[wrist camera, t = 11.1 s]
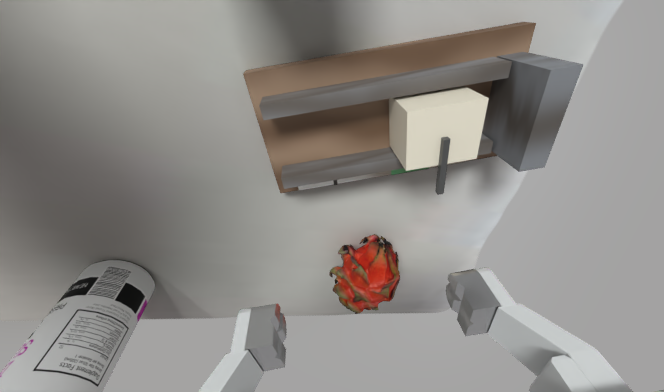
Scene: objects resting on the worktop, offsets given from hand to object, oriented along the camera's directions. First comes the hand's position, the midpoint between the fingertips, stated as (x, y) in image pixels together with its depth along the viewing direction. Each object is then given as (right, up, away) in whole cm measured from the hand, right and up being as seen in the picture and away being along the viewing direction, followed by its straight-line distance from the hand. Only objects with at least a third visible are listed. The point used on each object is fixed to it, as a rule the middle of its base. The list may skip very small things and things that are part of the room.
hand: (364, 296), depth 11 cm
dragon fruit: (+3, -4, +27) cm, 27 cm away
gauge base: (+4, +12, +15) cm, 20 cm away
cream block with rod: (+7, +10, +15) cm, 20 cm away
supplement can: (-29, -7, +25) cm, 39 cm away
